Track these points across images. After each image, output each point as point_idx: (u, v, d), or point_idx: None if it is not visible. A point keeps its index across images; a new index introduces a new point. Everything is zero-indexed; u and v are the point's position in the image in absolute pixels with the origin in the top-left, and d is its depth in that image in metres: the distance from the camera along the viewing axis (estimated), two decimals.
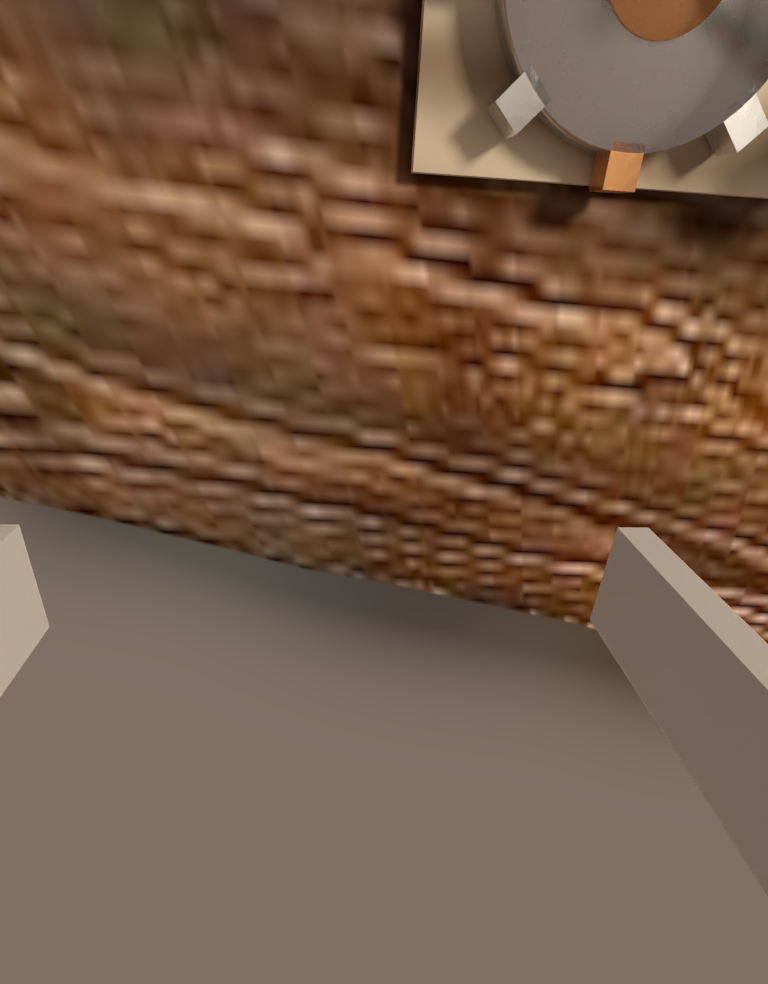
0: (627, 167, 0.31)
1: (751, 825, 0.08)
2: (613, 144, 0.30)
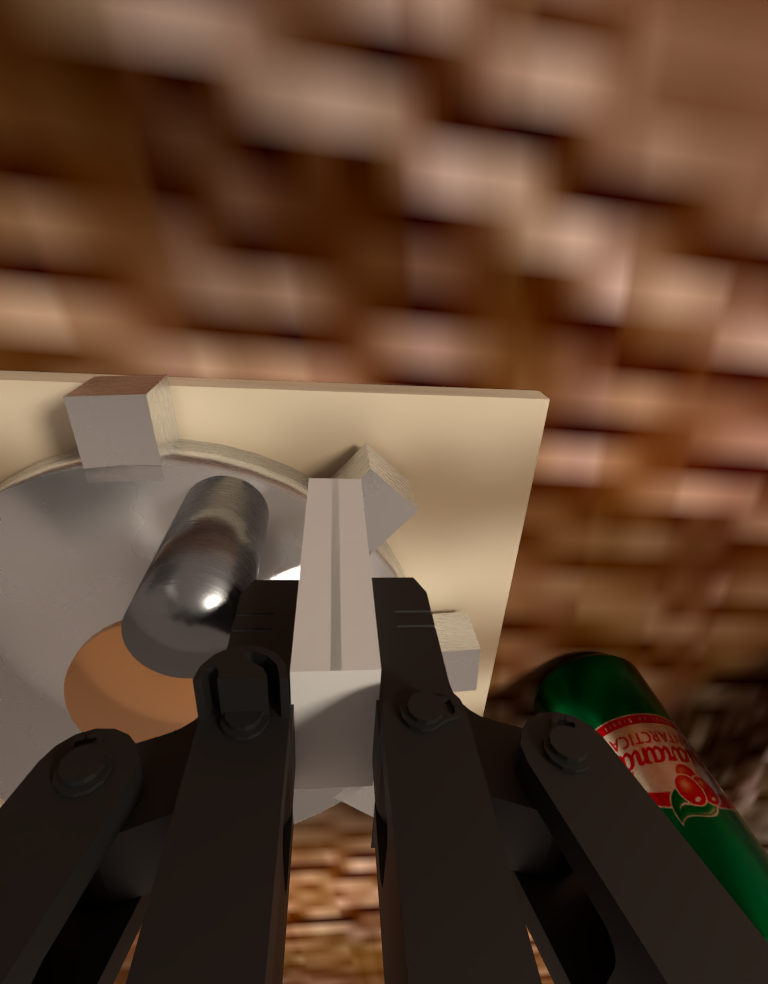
0: None
1: None
2: None
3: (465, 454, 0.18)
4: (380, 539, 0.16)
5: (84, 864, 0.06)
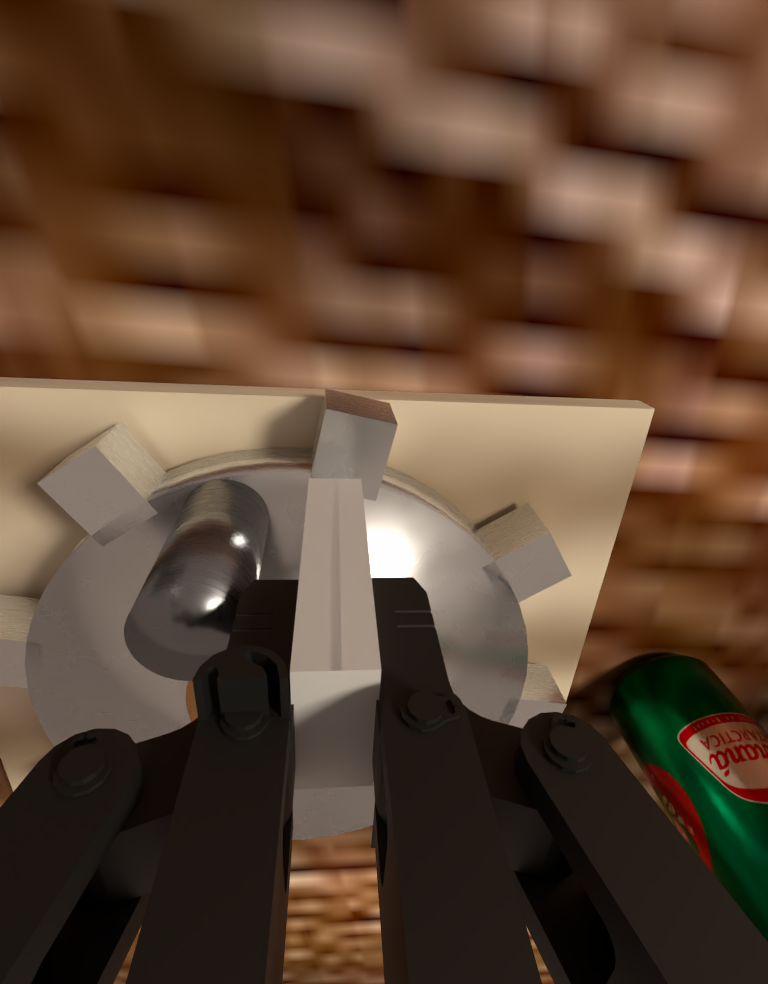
0: None
1: None
2: None
3: (570, 462, 0.18)
4: (379, 471, 0.15)
5: (83, 864, 0.06)
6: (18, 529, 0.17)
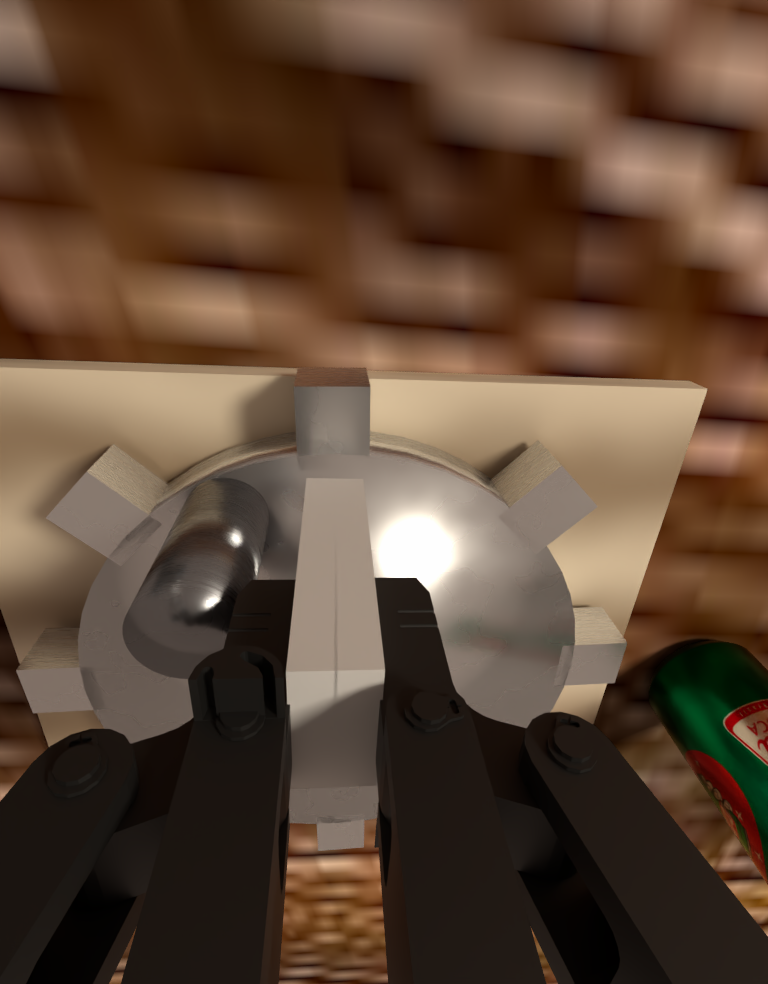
0: None
1: None
2: None
3: (619, 443, 0.18)
4: (364, 439, 0.14)
5: (79, 864, 0.06)
6: None
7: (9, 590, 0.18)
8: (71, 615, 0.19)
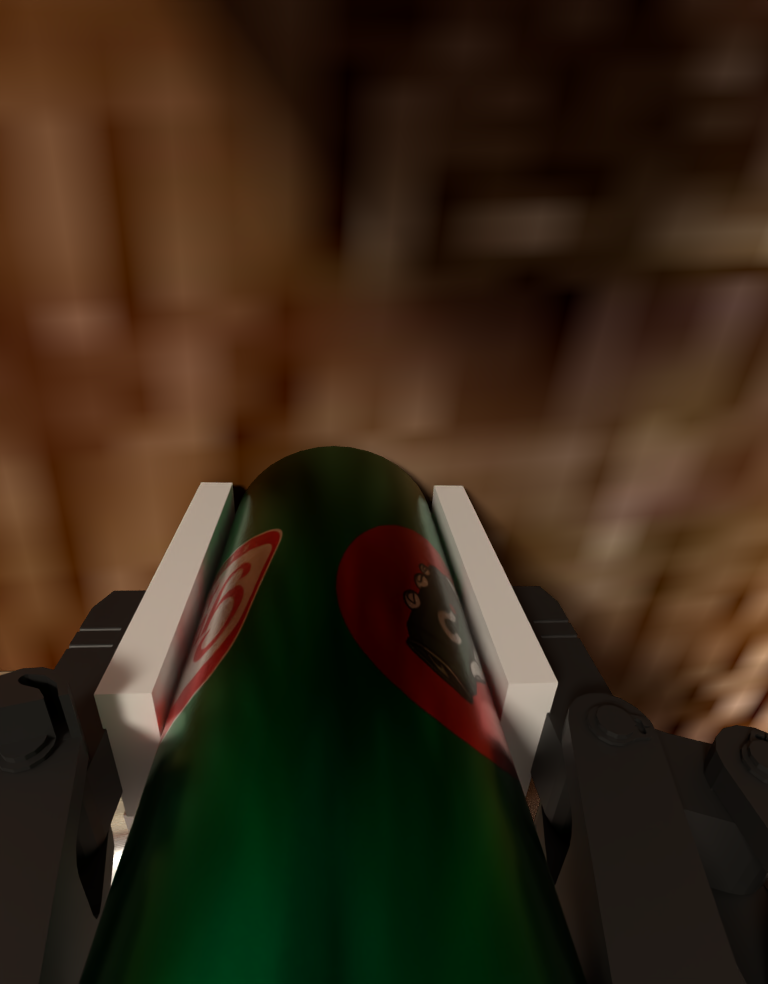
0: None
1: None
2: None
3: None
4: None
5: None
6: None
7: None
8: None
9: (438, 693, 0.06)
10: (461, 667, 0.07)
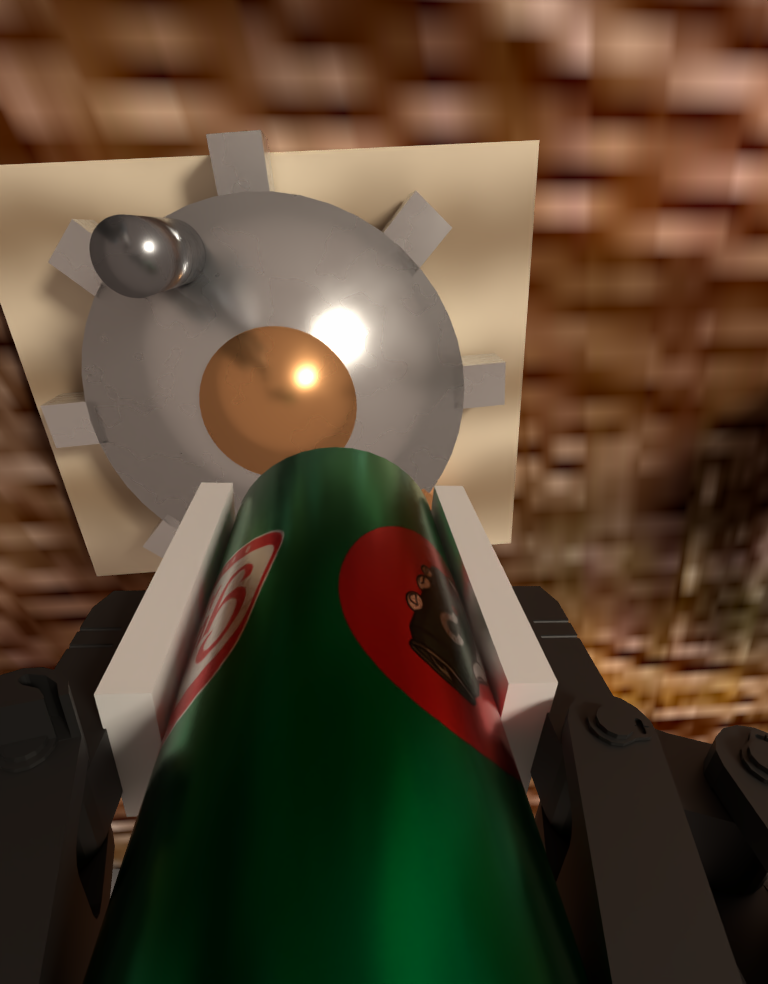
0: None
1: None
2: None
3: (478, 197, 0.23)
4: (263, 176, 0.20)
5: None
6: (69, 289, 0.23)
7: (33, 364, 0.25)
8: (80, 385, 0.25)
9: (441, 696, 0.06)
10: (464, 669, 0.07)
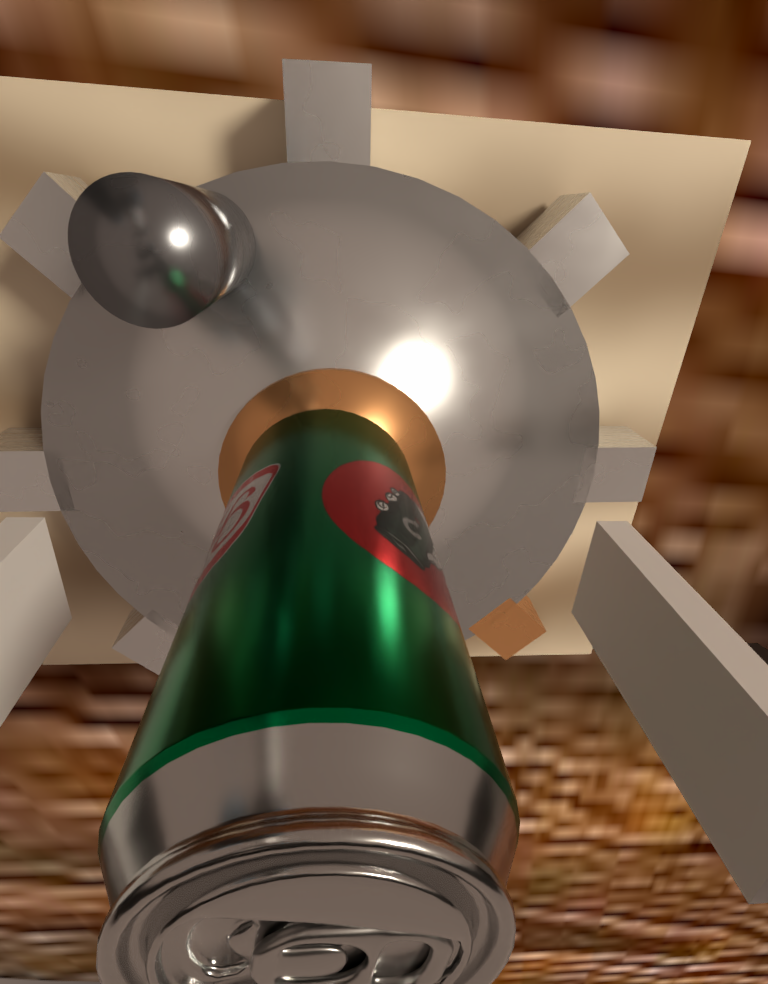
0: (512, 626, 0.20)
1: (717, 807, 0.08)
2: (472, 629, 0.20)
3: (650, 211, 0.16)
4: (364, 141, 0.13)
5: None
6: (33, 278, 0.15)
7: None
8: (39, 417, 0.17)
9: (396, 557, 0.08)
10: (418, 550, 0.09)
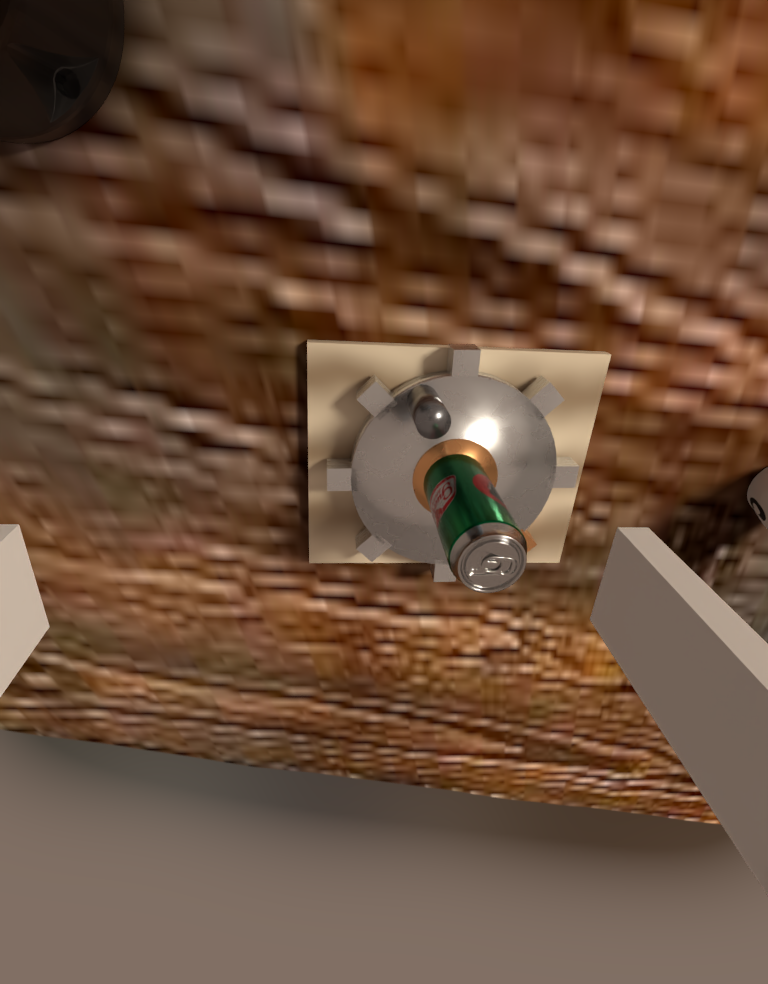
0: None
1: (751, 825, 0.08)
2: None
3: (575, 378, 0.43)
4: (476, 370, 0.39)
5: None
6: (347, 404, 0.42)
7: (314, 441, 0.43)
8: (336, 454, 0.44)
9: (497, 499, 0.35)
10: (500, 499, 0.36)
